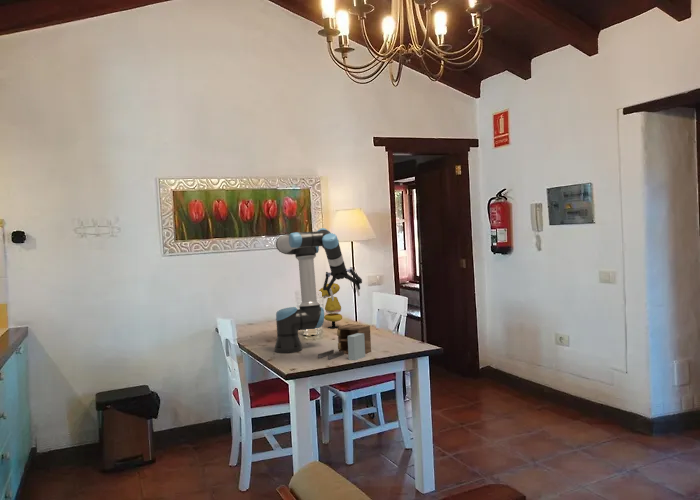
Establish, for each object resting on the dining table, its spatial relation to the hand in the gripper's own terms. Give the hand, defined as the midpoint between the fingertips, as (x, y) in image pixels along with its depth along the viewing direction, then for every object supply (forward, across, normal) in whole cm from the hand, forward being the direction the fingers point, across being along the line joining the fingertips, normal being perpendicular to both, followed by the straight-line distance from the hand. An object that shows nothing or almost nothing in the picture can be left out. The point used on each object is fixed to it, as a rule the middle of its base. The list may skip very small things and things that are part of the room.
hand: (345, 297), depth 296 cm
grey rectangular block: (+25, 0, -20) cm, 32 cm away
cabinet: (+28, -7, -12) cm, 31 cm away
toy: (+66, -25, +63) cm, 95 cm away
